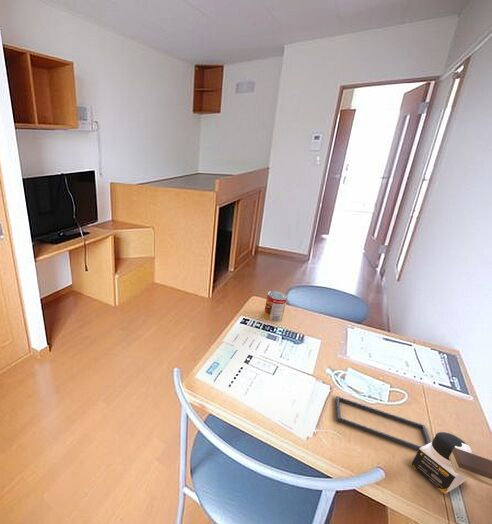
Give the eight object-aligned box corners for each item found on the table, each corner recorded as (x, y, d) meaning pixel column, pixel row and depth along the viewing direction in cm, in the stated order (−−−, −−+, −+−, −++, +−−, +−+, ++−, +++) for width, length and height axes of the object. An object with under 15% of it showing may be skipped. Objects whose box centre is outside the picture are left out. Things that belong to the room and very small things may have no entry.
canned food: (276, 313, 142) (281, 290, 137) (285, 322, 135) (290, 299, 130) (260, 313, 142) (264, 290, 137) (268, 323, 134) (272, 299, 130)
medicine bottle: (409, 467, 76) (426, 433, 71) (426, 457, 78) (445, 424, 74) (443, 496, 70) (465, 461, 65) (461, 484, 72) (484, 450, 68)
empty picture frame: (421, 430, 86) (424, 425, 85) (431, 458, 78) (434, 452, 78) (335, 400, 95) (336, 395, 94) (336, 423, 88) (338, 417, 87)
